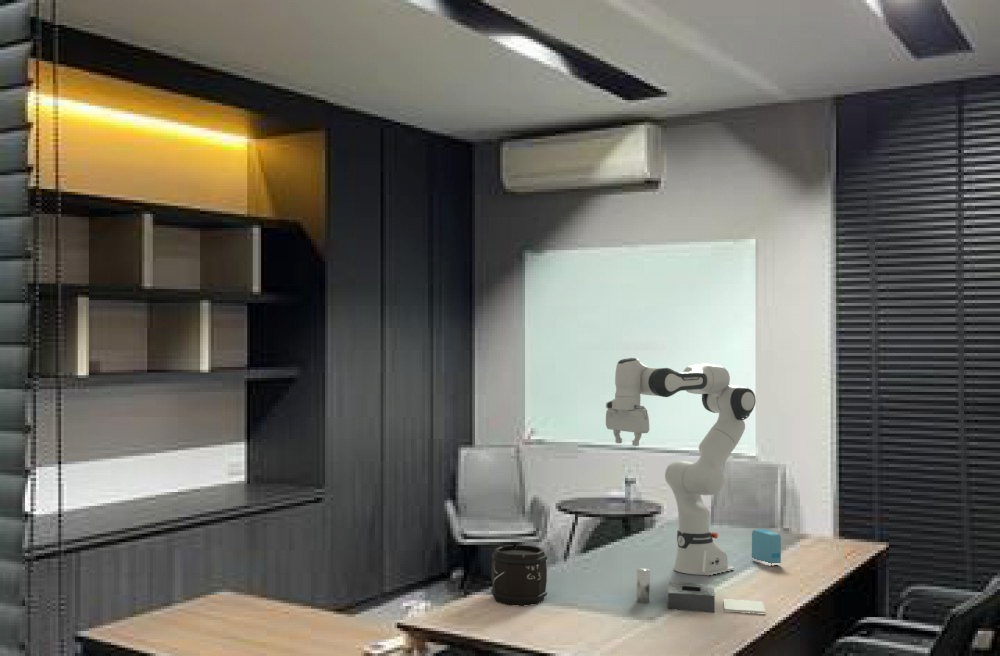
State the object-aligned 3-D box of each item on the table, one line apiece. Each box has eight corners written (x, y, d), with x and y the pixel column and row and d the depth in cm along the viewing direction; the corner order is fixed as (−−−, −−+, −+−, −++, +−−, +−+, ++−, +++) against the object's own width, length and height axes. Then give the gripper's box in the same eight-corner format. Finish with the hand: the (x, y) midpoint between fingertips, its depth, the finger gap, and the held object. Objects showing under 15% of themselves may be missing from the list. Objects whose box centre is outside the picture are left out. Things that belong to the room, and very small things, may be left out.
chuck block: (669, 597, 300) (669, 581, 300) (713, 600, 297) (713, 584, 297) (667, 609, 286) (667, 592, 286) (714, 612, 283) (714, 595, 283)
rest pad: (723, 601, 295) (723, 598, 295) (762, 604, 293) (762, 601, 293) (724, 612, 283) (724, 608, 283) (765, 614, 281) (765, 611, 281)
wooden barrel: (504, 589, 307) (505, 541, 308) (554, 596, 299) (555, 547, 300) (479, 602, 291) (480, 551, 292) (531, 609, 283) (532, 557, 284)
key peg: (644, 599, 297) (644, 567, 297) (651, 602, 294) (652, 570, 294) (634, 600, 295) (634, 569, 295) (641, 603, 292) (642, 571, 292)
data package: (781, 566, 347) (781, 534, 347) (770, 567, 345) (771, 534, 346) (761, 559, 358) (761, 528, 358) (751, 560, 356) (751, 529, 357)
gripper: (654, 406, 317) (653, 446, 316) (616, 403, 334) (616, 441, 334) (639, 406, 313) (639, 447, 313) (602, 403, 331) (602, 442, 331)
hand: (627, 444), depth 324 cm, fingers open, 8 cm apart
